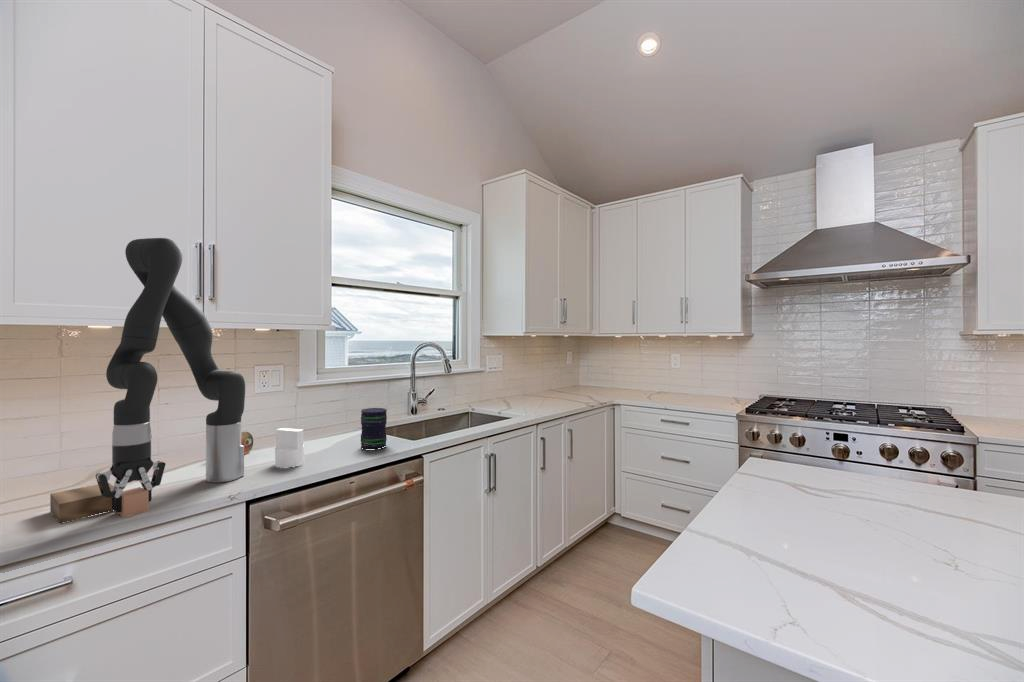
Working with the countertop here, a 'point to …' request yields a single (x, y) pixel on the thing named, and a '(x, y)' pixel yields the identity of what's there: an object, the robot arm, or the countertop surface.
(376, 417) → the storage jar
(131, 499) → the terracotta cube
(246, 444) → the tin
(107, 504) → the walnut block
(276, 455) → the white block
